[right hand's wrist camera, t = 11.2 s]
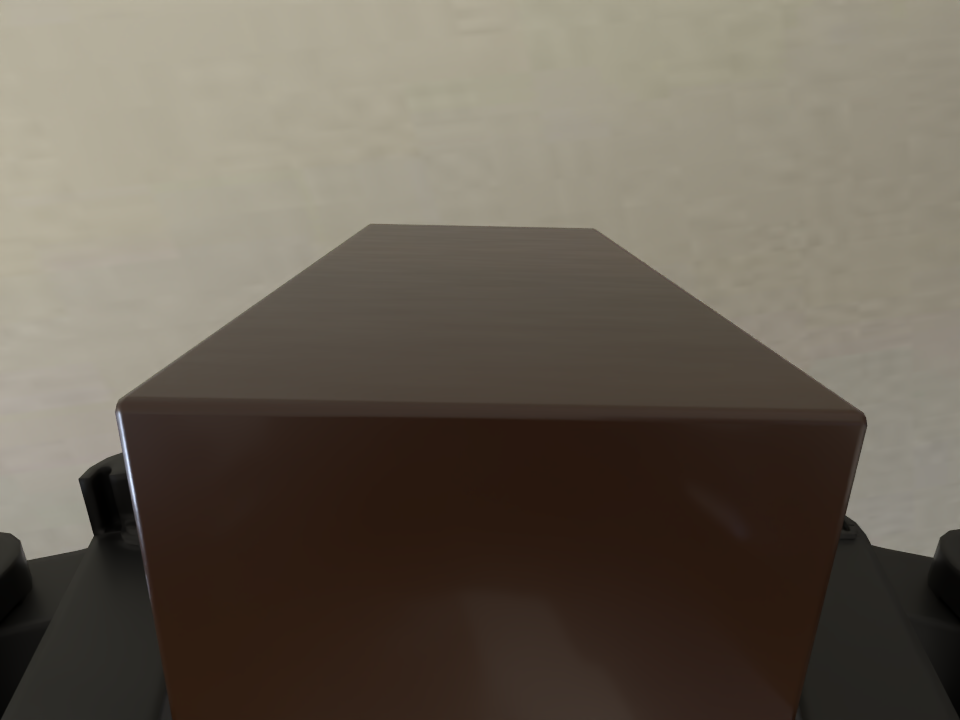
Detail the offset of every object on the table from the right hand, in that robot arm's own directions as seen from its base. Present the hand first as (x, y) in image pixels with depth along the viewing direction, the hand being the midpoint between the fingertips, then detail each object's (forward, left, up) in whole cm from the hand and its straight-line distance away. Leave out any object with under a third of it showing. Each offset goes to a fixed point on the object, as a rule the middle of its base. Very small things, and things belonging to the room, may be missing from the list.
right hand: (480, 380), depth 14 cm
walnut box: (0, +14, 0) cm, 14 cm away
